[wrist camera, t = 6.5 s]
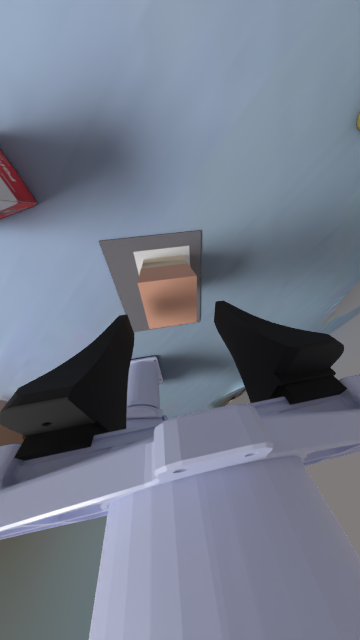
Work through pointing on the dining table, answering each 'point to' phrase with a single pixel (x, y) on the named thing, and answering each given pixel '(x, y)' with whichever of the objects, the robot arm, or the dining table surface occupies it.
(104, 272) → the dining table surface
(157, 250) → the grey flat panel
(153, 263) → the beech block
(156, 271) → the terracotta block
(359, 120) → the light bulb
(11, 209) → the ink box
